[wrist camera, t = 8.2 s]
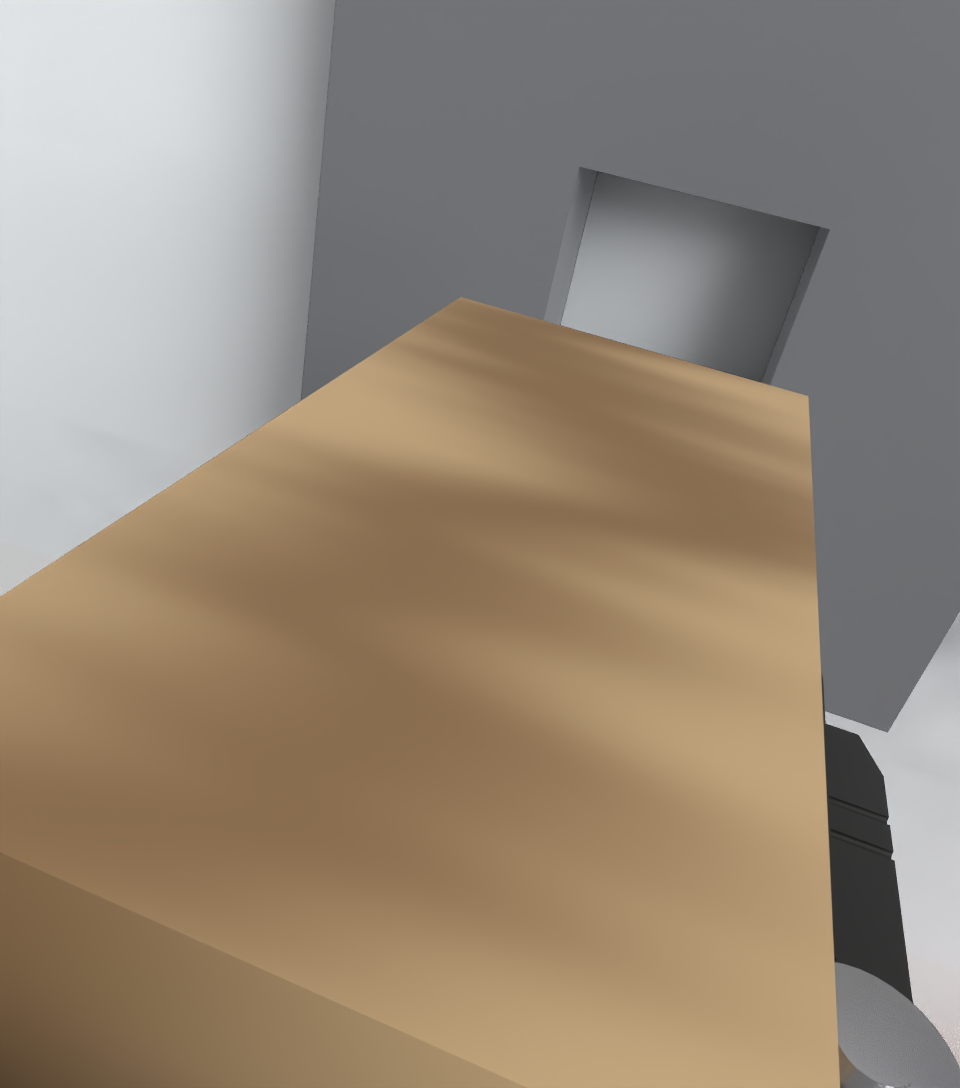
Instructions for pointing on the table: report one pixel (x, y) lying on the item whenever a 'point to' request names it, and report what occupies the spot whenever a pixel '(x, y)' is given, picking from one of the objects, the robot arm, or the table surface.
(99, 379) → the table surface
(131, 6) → the table surface
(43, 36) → the table surface
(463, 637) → the wooden block
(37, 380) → the table surface
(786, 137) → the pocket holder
